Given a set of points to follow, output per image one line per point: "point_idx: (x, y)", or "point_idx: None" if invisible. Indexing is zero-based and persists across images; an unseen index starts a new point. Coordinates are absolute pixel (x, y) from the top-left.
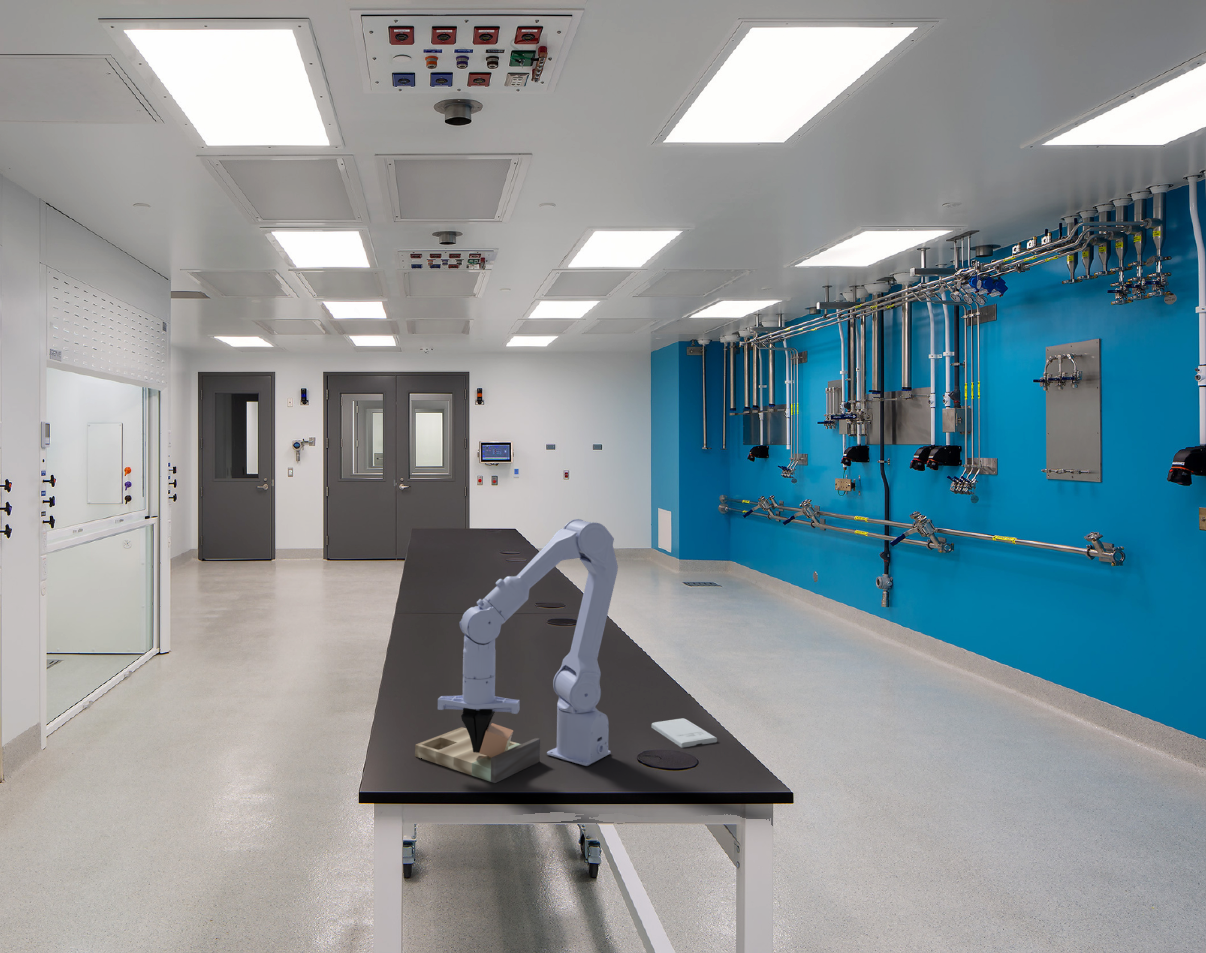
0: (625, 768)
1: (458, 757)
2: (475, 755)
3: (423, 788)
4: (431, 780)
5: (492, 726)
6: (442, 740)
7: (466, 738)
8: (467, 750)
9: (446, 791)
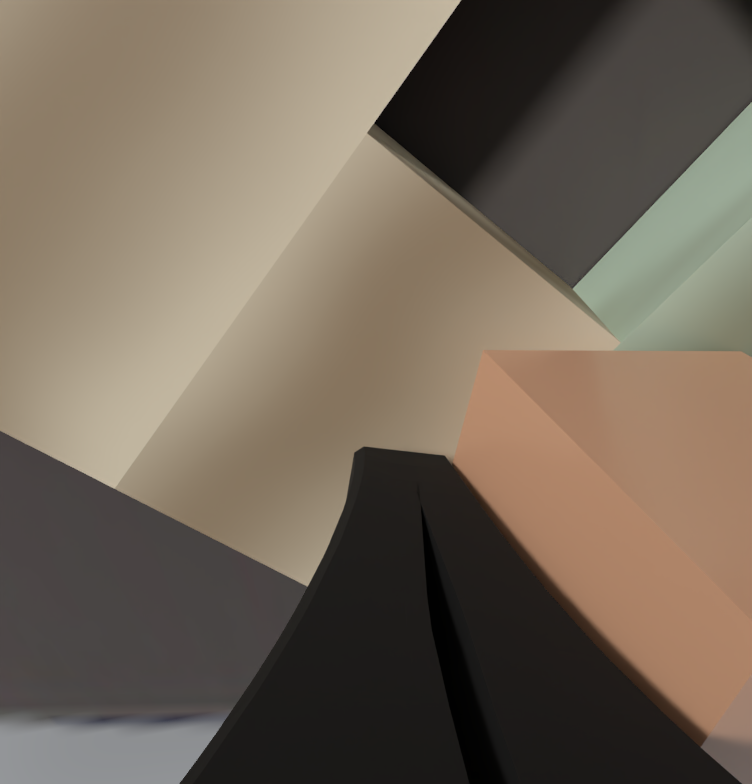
0: None
1: (174, 502)
2: (357, 448)
3: (52, 688)
4: (50, 594)
5: (733, 752)
6: None
7: None
8: (224, 301)
9: (221, 713)
